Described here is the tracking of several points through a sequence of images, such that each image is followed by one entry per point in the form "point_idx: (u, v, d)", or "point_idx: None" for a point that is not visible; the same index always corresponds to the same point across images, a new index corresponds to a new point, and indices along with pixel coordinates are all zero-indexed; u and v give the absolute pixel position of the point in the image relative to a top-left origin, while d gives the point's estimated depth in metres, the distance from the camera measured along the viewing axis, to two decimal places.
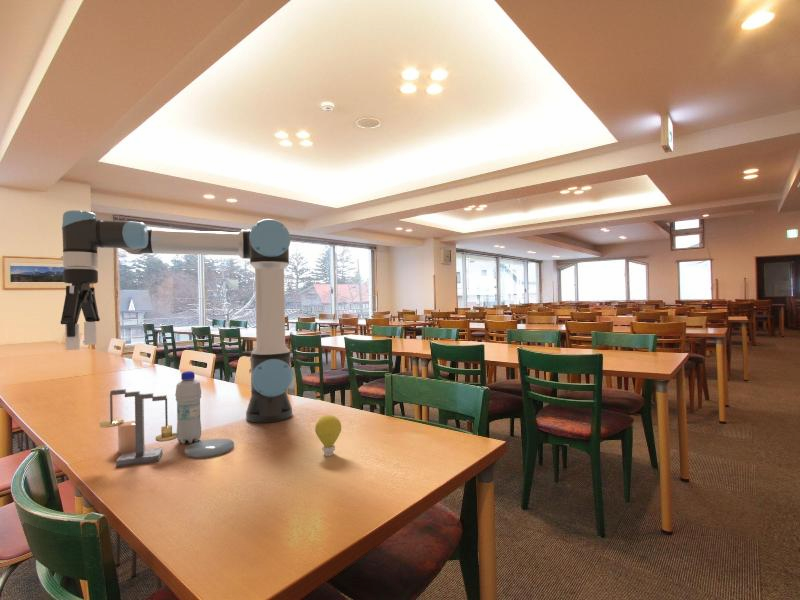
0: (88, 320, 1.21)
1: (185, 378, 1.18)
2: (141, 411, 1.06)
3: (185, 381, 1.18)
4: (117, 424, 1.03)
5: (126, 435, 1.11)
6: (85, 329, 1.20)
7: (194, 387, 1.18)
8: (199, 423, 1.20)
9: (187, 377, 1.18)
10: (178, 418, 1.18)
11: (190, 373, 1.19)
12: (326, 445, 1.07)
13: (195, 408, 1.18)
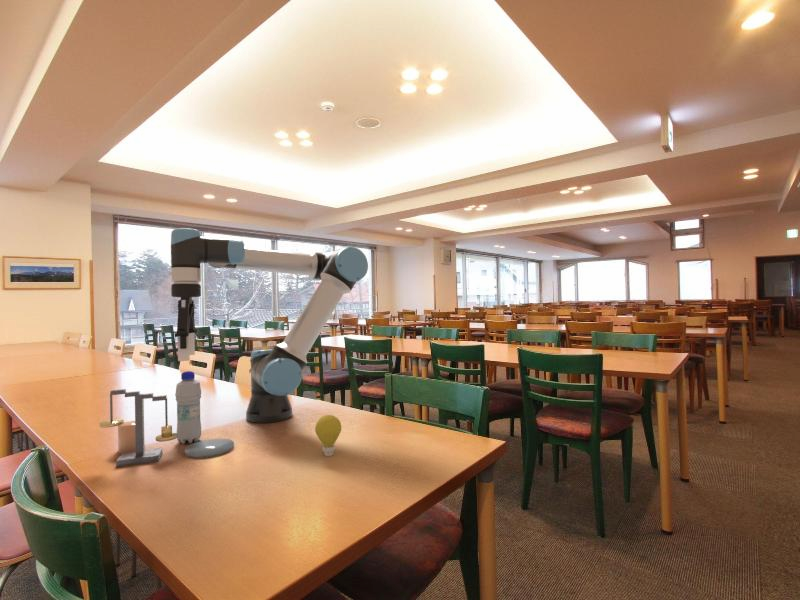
0: None
1: (185, 378, 1.18)
2: (141, 411, 1.06)
3: (185, 381, 1.18)
4: (117, 424, 1.03)
5: (126, 435, 1.11)
6: None
7: (194, 388, 1.18)
8: (199, 423, 1.20)
9: (187, 377, 1.18)
10: (178, 418, 1.18)
11: (190, 373, 1.19)
12: (326, 445, 1.07)
13: (195, 408, 1.18)
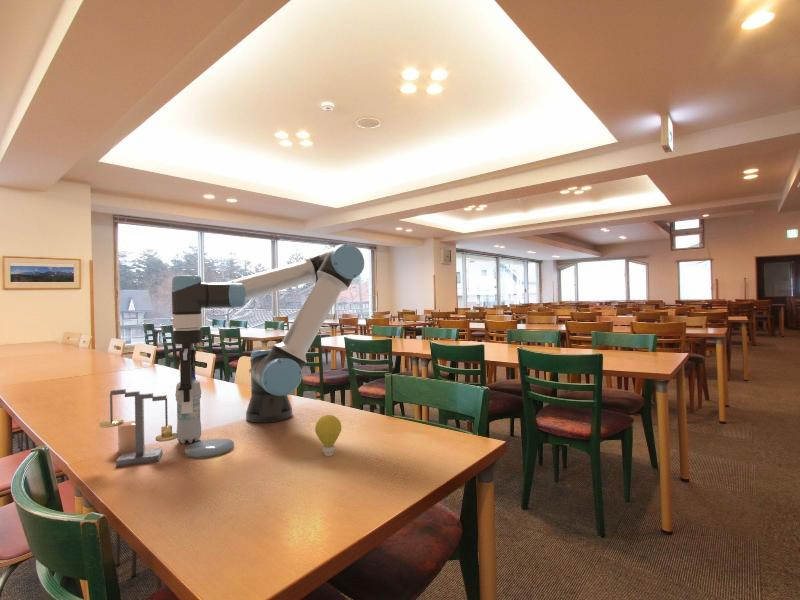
0: None
1: None
2: (141, 411, 1.06)
3: None
4: (117, 424, 1.03)
5: (126, 435, 1.11)
6: None
7: (194, 387, 1.18)
8: (199, 423, 1.20)
9: None
10: (178, 418, 1.18)
11: None
12: (326, 445, 1.07)
13: (195, 408, 1.18)
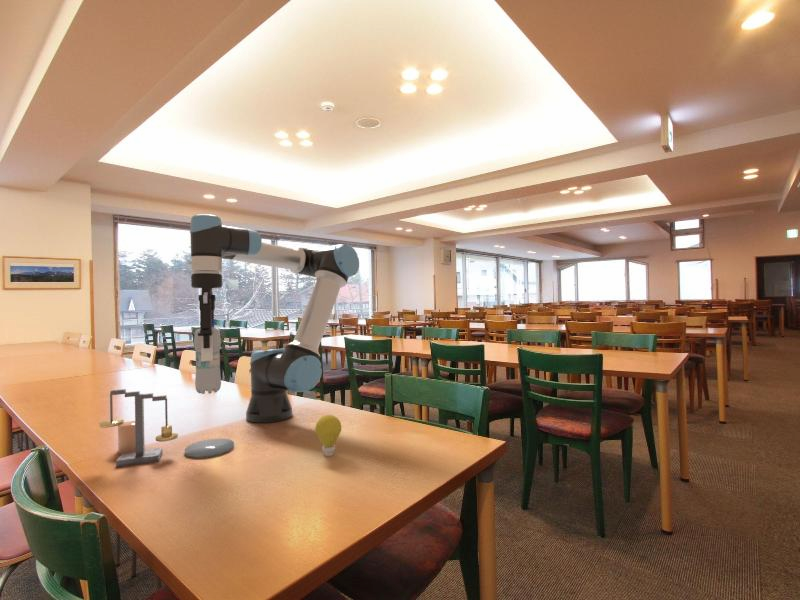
0: None
1: None
2: (141, 411, 1.06)
3: None
4: (117, 424, 1.03)
5: (126, 435, 1.11)
6: None
7: (214, 334, 1.11)
8: (219, 372, 1.13)
9: None
10: (197, 367, 1.10)
11: None
12: (326, 445, 1.07)
13: (214, 357, 1.11)
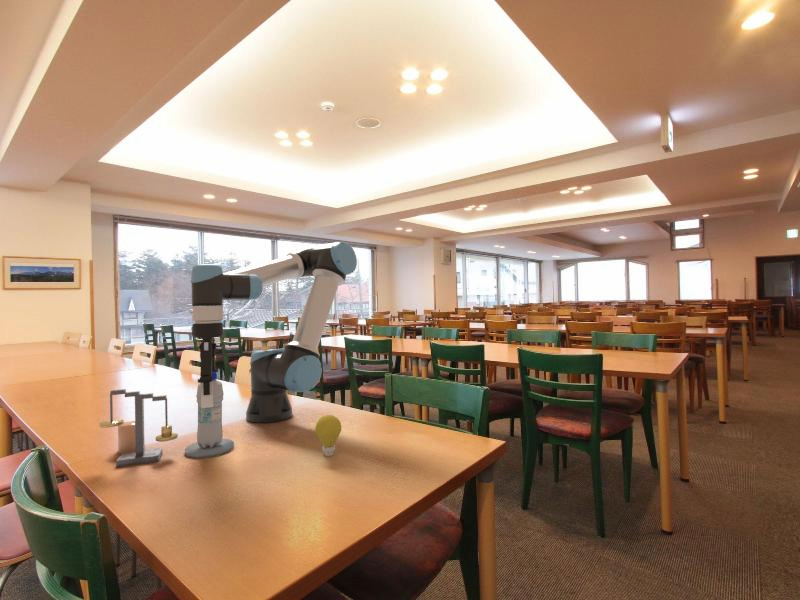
0: None
1: None
2: (141, 411, 1.06)
3: None
4: (117, 424, 1.03)
5: (126, 435, 1.11)
6: None
7: (216, 389, 1.11)
8: (220, 426, 1.13)
9: None
10: (199, 421, 1.11)
11: (212, 373, 1.12)
12: (326, 445, 1.07)
13: (217, 411, 1.11)
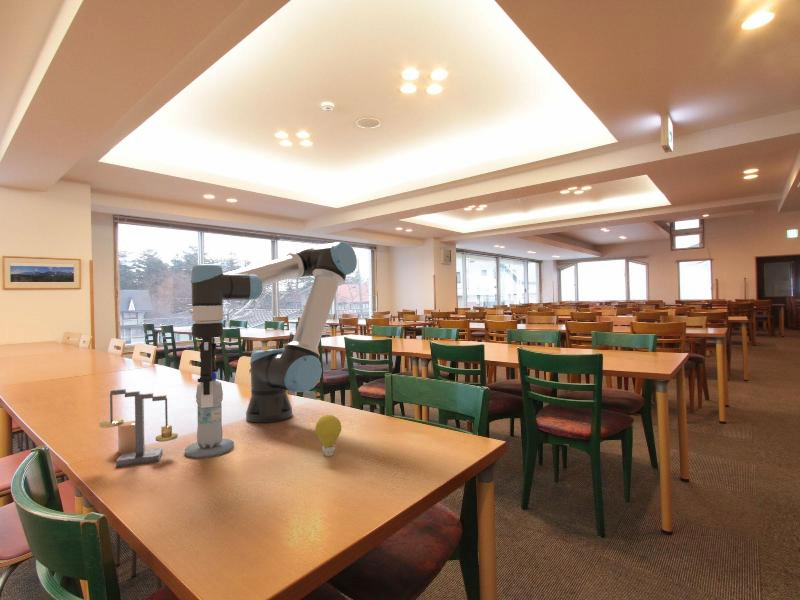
0: None
1: None
2: (141, 411, 1.06)
3: None
4: (117, 424, 1.03)
5: (126, 435, 1.11)
6: None
7: (216, 389, 1.11)
8: (220, 426, 1.13)
9: None
10: (199, 421, 1.11)
11: (212, 373, 1.12)
12: (326, 445, 1.07)
13: (216, 411, 1.11)
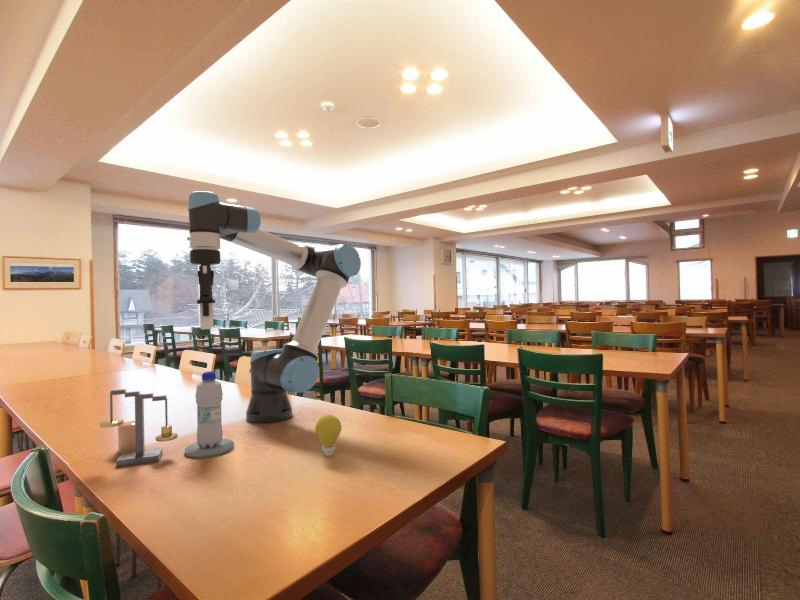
0: None
1: (206, 379, 1.11)
2: (141, 411, 1.06)
3: (206, 382, 1.11)
4: (117, 424, 1.03)
5: (126, 435, 1.11)
6: None
7: (215, 389, 1.11)
8: (220, 426, 1.13)
9: (208, 378, 1.11)
10: (198, 421, 1.11)
11: (211, 373, 1.12)
12: (326, 445, 1.07)
13: (216, 411, 1.11)
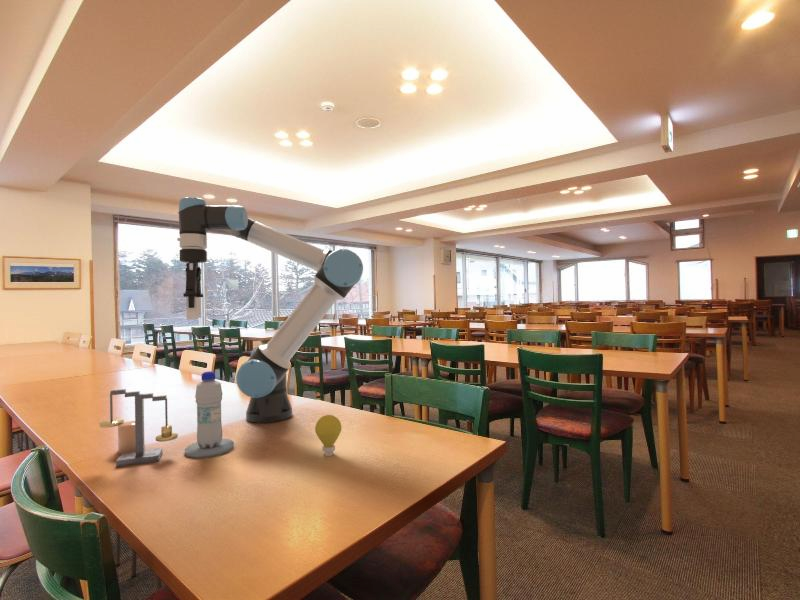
0: None
1: (206, 379, 1.11)
2: (141, 411, 1.06)
3: (205, 382, 1.11)
4: (117, 424, 1.03)
5: (126, 435, 1.11)
6: None
7: (215, 389, 1.11)
8: (220, 426, 1.13)
9: (208, 378, 1.11)
10: (198, 421, 1.11)
11: (211, 373, 1.12)
12: (326, 445, 1.07)
13: (216, 411, 1.11)
